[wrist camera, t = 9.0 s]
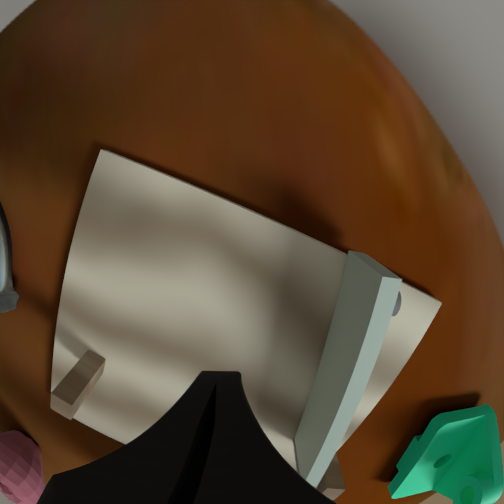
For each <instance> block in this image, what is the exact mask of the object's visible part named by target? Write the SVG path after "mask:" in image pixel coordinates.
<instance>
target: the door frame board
mask: <svg viewBox="0 0 504 504" xmlns="http://www.w3.org/2000/svg"><path fill="white" fill-rule="evenodd" d="M347 256H348V254H346V253H344V252H342V251H340V250H338V249H335V248H333V247H331V246H329V245H327V244H325V243H323V242H321V241H318V240H316V239H314V238H312V237H310V236H308V235H306V234H303V233H301V232H299V231H297V230H295V229H293V228H290V227H288V226H286V225H284V224H282V223H279V222H277V221H275V220H273V219H270V218H268V217H266V216H264V215H262V214H259V213H257V212H255V211H253V210H250V209H248V208H246V207H243V206H241V205H239V204H237V203H234V202H232V201H230V200H227V199H225V198H223V197H220V196H218V195H216V194H213V193H211V192H209V191H206V190H204V189H202V188H199V187H197V186H195V185H192V184H190V183H187V182H185V181H183V180H180V179H178V178H175V177H173V176H171V175H168V174H166V173H163V172H161V171H158V170H156V169H153V168H151V167H148V166H146V165H143V164H141V163H138V162H136V161H133V160H131V159H128V158H126V157H123V156H121V155H118V154H116V153H113V152H110V151H108V150H102V149H101V150H100V153H99V156H98V158H97V161H96V164H95V167H94V170H93V172H92V175H91V178H90V181H89V184H88V187H87V191H86V194H85V197H84V200H83V204H82V207H81V210H80V214H79V217H78V221H77V225H76V228H75V232H74V236H73V240H72V244H71V248H70V253H69V257H68V262H67V266H66V271H65V276H64V281H63V287H62V292H61V298H60V304H59V311H58V317H57V325H56V333H55V342H54V352H53V364H52V380H51V409H53V410H54V411H56V412H57V413H59V414H61V415H63V416H64V417H66V418H68V419H69V420H71V419H72V418H74V419H76V420H78V421H80V422H81V423H83V424H85V425H87V426H89V427H91V428H93V429H95V430H96V431H98V432H100V433H102V434H104V435H107V436H109V437H111V438H113V439H115V440H117V441H119V442H121V443H124V444H128V443H129V442H131V441H132V440H134V439H135V438H137V437H138V436H139V435H141V434H142V433H143V432H145V431H146V430H147V429H148V428H150V427H151V426H152V425H153V424H154V423H155V422H157V421H158V420H159V419H160V418H161V417H162V416H163V415H164V414H165V413H166V412H167V411H168V410H169V409H170V408H171V407H172V406H173V405H174V404H175V403H176V402H177V400H178V399H179V398H180V397H181V396H182V395H183V394H184V393H185V391H186V390H187V389H188V388H189V386H190V385H191V384H192V383H193V381H194V380H195V379H196V377H197V376H198V375H199V373H200V372H201V371H239V372H240V373H241V376H242V385H243V389H244V392H245V395H246V398H247V400H248V402H249V405H250V407H251V409H252V411H253V413H254V415H255V417H256V419H257V421H258V423H259V424H260V426H261V428H262V430H263V431H264V433H265V434H266V436H267V437H268V439H269V440H270V441H271V443H272V444H273V446H274V447H275V448H276V449H277V451H278V452H279V453H280V454H281V456H282V457H283V458H284V459H285V460H286V461H287V462H288V463H289V464H290V465H291V466H292V467H293V468H294V469H295V470H296V471H297V468H296V461H295V454H294V447H293V438H294V437H295V435H296V433H297V430H298V427H299V424H300V421H301V419H302V416H303V413H304V410H305V407H306V404H307V401H308V398H309V395H310V392H311V389H312V386H313V383H314V380H315V377H316V373H317V370H318V367H319V364H320V360H321V357H322V354H323V350H324V347H325V343H326V340H327V336H328V333H329V329H330V325H331V322H332V318H333V314H334V310H335V307H336V303H337V299H338V295H339V291H340V286H341V282H342V278H343V274H344V269H345V265H346V261H347ZM399 291H400V293H401V307H400V310H399V312H398V314H397V315H396V316H391V319H390V322H389V326H388V329H387V332H386V335H385V338H384V340H383V343H382V346H381V349H380V352H379V355H378V357H377V360H376V363H375V365H374V368H373V371H372V373H371V376H370V378H369V381H368V383H367V386H366V388H365V390H364V393H363V395H362V398H361V400H360V402H359V405H358V407H357V409H356V411H355V414H354V416H353V418H352V420H351V422H350V424H349V427H348V429H347V431H346V433H345V435H344V437H343V439H342V441H341V443H340V445H339V447H338V449H339V448H340V447H341V446H342V445H343V444H344V443H345V441H346V440H347V439H348V438H349V437H350V436H351V435H352V433H353V432H354V431H355V430H356V429H357V428H358V426H359V425H360V424H361V423H362V422H363V420H364V419H365V418H366V417H367V415H368V414H369V413H370V412H371V410H372V409H373V408H374V407H375V405H376V404H377V403H378V401H379V400H380V399H381V397H382V396H383V395H384V393H385V392H386V391H387V389H388V388H389V387H390V385H391V384H392V383H393V381H394V380H395V378H396V377H397V375H398V374H399V373H400V371H401V370H402V368H403V367H404V365H405V364H406V362H407V361H408V359H409V358H410V356H411V355H412V353H413V352H414V350H415V348H416V347H417V345H418V344H419V342H420V340H421V339H422V337H423V336H424V334H425V332H426V331H427V329H428V327H429V325H430V324H431V322H432V320H433V319H434V317H435V315H436V313H437V311H438V310H439V308H440V306H441V304H442V303H441V302H440V301H439V300H437V299H436V298H434V297H432V296H430V295H428V294H426V293H424V292H423V291H421V290H419V289H417V288H415V287H413V286H411V285H409V284H407V283H405V282H403V281H402V282H401V286H400V289H399ZM338 449H337V450H338ZM316 489H317V490H318V491H320V492H321V493H322V494H323V495H325V496H326V497H328V498H329V499H331V500H334V499H335V498H337V497H338V496H339V495H340V494H341V493H342V492H344V491H345V490H346V489H345V485H344V481H343V477H342V474H341V470H340V466H339V463H338V459H337V455H336V453H335V455H334V457H333V459H332V460H331V462H330V464H329V466H328V468H327V470H326V471H325V473H324V475H323V477H322V479H321V480H320V482H319V484H318V486H317V487H316Z"/></svg>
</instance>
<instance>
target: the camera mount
mask: <svg viewBox="0 0 504 504" xmlns="http://www.w3.org/2000/svg"><path fill="white" fill-rule="evenodd" d="M396 466H397V469H398V471H399V472H398V473H397V475H396V476H395V477H394V479H393V480H392V481H391V483H390V484H389V486H388V489H389V492H390V494H391V497H392V498H393V499H396V498H401V497H405V496H410V495H414V494H418V493H422V492H426V491H429V490H434V491H436V492H438V493H440V494H442V495H444V496H446V497H448V498H450V499H452V500H453V504H493V503H494V502H496V501H497V500H498V499H499V497H500V496H501V494H502V491H503V487H504V478H503V465H502V455H501V446H500V439H499V432H498V425H497V420H496V414H495V411H494V410H493V409H492V408H491V407H490V406H489V405H488V404H486V405H481V406H477V407H472V408H467V409H462V410H456V411H451V412H445V413H441V414H439V415H437V416H435V417H434V418H433V419H432V420H431V421H430V423H429V425H428V426H427V428H426V430H425V432H424V433H423V435H417V436H414V438H413V440H412V441H411V443H410V445H409V446H408V448H407V450H406V451H405V453H404V454H403V456H402V457H401V459H400V460H399V462H398V463H397V465H396Z"/></svg>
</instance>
